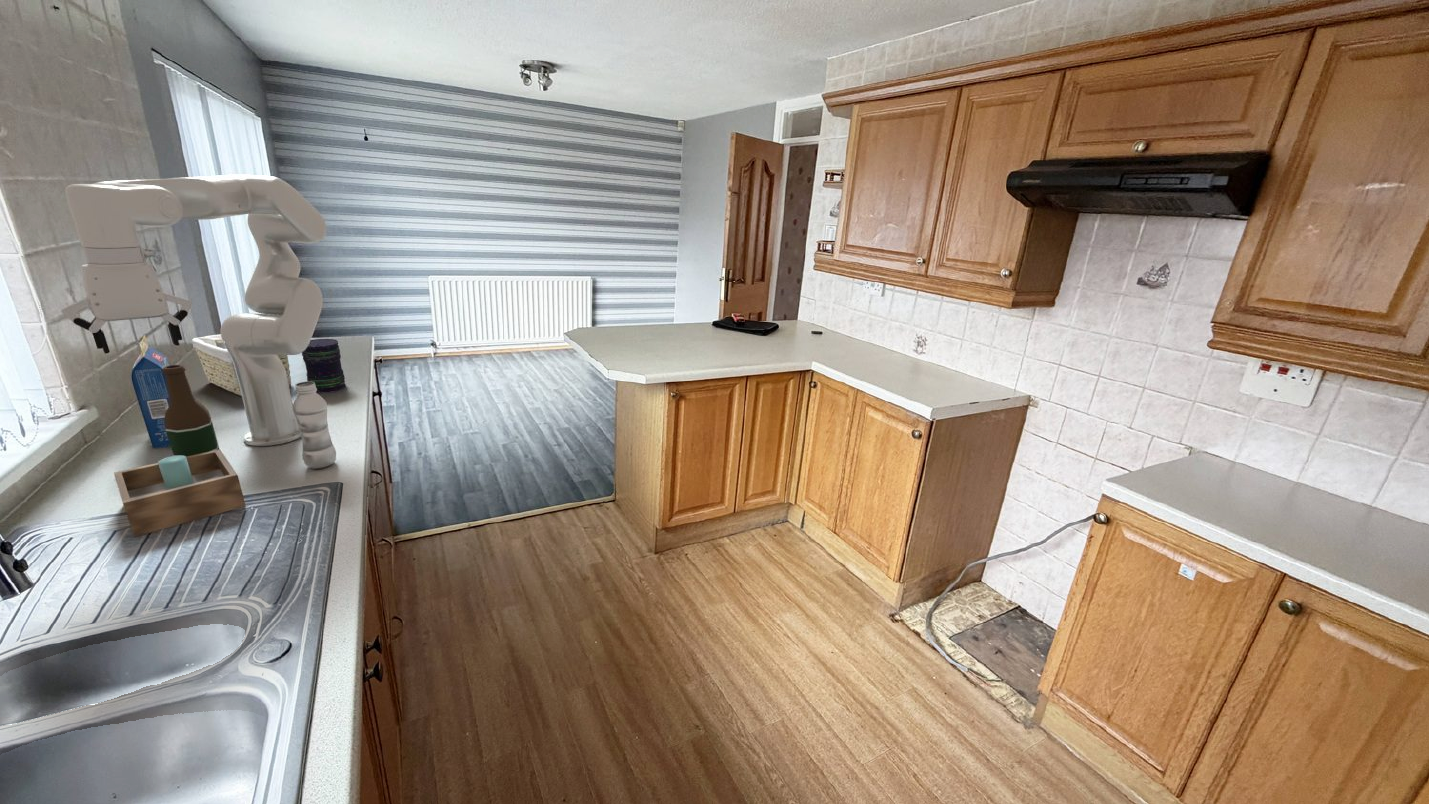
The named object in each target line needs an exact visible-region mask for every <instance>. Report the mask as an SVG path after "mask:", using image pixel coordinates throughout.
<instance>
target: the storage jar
mask: <svg viewBox="0 0 1429 804" xmlns="http://www.w3.org/2000/svg"><path fill="white" fill-rule="evenodd" d="M301 356H302V360H303V363H304V365H305V369H306V381H312V382H315V386H316V388H317V391H316V393H317V394H327V393H328V394H329V393H336V392H339V391H342V390H344V389H345V388H346V387H347V384H346V380H345V379H346V377H345V374H344V370H343V367H342V362H341V359H342V357H341V350H340V346H339V340H337V339H334V338H316V339H311V340H310V343H309V345H308V346H307V348H306V349H305V350H304V351H303V352H302V353H301Z"/></svg>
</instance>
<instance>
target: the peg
mask: <svg viewBox="0 0 1429 804" xmlns="http://www.w3.org/2000/svg"><path fill="white" fill-rule="evenodd" d="M157 463H158V464H159V467H160V470H161V474H162V477H163V480H164V483H165V486H166V490H169V489H173V488H178V487H182V486H186V485H190V484H194V482H193V479H192V476H191V472H190V469H189V465H188V462H187V458H186V456H183V455H177V456H173V455H172V456H171V455H170V456H168V457H164V458H161V459H159V460H158V461H157Z"/></svg>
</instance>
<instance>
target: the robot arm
mask: <svg viewBox="0 0 1429 804" xmlns="http://www.w3.org/2000/svg"><path fill="white" fill-rule="evenodd" d="M64 195H65V197H66V202H67V205H68V208H69V210H70V214H71V216H72V220H73V224H74V226H75V230H76V233H77V236H78V239H79V242H80V245H81V248H82V252H83V255H84V258H85V261H86V264H82V265H81V277H82V283H83V287H84V291H85V294H86V297H84V298H81V299H79V300H77V301H75V302H73V303H70V304H69V305H67V306H65V307H62V308H61V313H62V314H63V315H64V316H65V317H67V319H68V320H70V321H72V323H74V325H76V326H78V327H80V328H82V329H85V330H87V331H89V332H90V333H91V334H92V336H93V337H92V338H93V339H94V342H95V346H96V348H97V349H98V350H99V349H102V350H103V353H104V354H109V353H110V352H111V351H110V348H109V345H108V342H107V339H106V335H105V333H104V330H103V329H101V328H103V326H104V325H105V323H106V322H113V321H115V322H116V321H117V322H118V321H125V320H126V321H128V320H129V321H130V320H140V319H142V320H143V319H151V318H152V319H153V318H160V317H161V318H162V319H164V320H166V321H167V322H168V324H167V328H168V331H169V335H170V338H171V339H170V340H171V342H172V344H173V345H174V346H176V347H177V346H180V342H179V341H183V336H182V332H181V330H180V324H181V323H182V321H184V319H185V318H186V317H188V315H189V311H190V309H191V307H192V304H193V303H192V301H191V300H190V299H187V298H183V297H181V296H178V295H177V296H176V295H175V294H174V295H173V294H170V293H166V292H164V290H163V287H162V285H161V282H160V279H159V278H158V275H157V273H156V270H155V268H154V267H153V265H152V263H151V262H146V261H147V259H148V258H152V257H153V258H154V257H155V256H156V255H155V252H154V249H147V248H144V247H142V245H141V242H140V237H139V234H138V231H137V228H136V227H137V226H141V227H152V228H153V227H154V228H155V227H157V228H160V227H161V228H162V227H168V226H172V225H175V224H177V223H178V222H179V221H180V220H193V221H195V220H197V221H203V220H205V221H206V220H216V219H221V218H228V217H235V216H242V215H247V226H248V229H249V232H251V233H250V234H251V235H252V237H253V239H254V241H255V244H256V247H257V248H258V254H259V257H258V260H257V264H256V265H255V266H256V267H255V268H254V271H253V274H252V276H251V278H250V281H249V283H248V285H247V288H246V291H245V294H244V303H245V305H246V306H247V307H248V308H249V310H251V311H253V312H255V313H251V312H250V313H248V312H247V313H245V312H244V313H237V314H233V315H231V316H228V317H227V318H226V319H225V320H224V321H223V322H222V324H221V326H220V334H221V338H222V340H223V343H222V344H223V345H224V348H226V349H227V350H228V352H229V354H230V356H231V359H232V361H233V364H234V367H235V371H236V375H237V379H238V383H239V387H240V391H241V395H242V396H241V398H242V403H243V407H244V410H245V415H246V418H247V423H248V427H249V430H250V431H249V432H247V433H246V434H244V436H243V440H244V443H245V444H246V445H250V446H252V447H253V446H254V447H267V446H268V447H269V446H277V445H283V444H286V443H289V442H290V443H291V442H292V441H293V442H294V441H295V440H297V439H300V438H302V437H301V433H300V429H299V425H298V422H297V420H296V417H295V415H294V412H293V409H292V408H293V403H294V402H293V398H292V394H291V390H290V385H289V384H288V379H287V374H286V370H285V367H284V365H283V363H282V361H281V360H280V359H279V357H278V356H277V355H287V356H295V355H296V356H297V355H300V354H302V352H303V351H304V350H305V349H306V348H307V346H308V345H309V343H310V340H312V338H313V334H314V332H315V330H316V326H317V324H318V321H319V318H320V315H321V314H322V309H323V304H324V303H323V302H324V300H323V299H324V298H323V293H322V291H321V289H320V287H319V286H318V284H317V283H316V282H315V281H313V280H311V279H308V278H304V277H299V276H300V272H301V270H302V269H301V268H302V267H301V263H300V260H299V259H298V257H297V255H296V254H295V252H294V251H293V250H292V248H291V247H290V245H289V243H298V244H301V243H302V244H317V243H319V242H322V241H323V240H324V239H325V237H326V235H327V231H328V229H327V223H326V221H325V218H324V217H323V216H322V214H321V213H320V211H319V210H317V208H316V207H314V206H313V205H312V204H311V202H310V201H308V200H307V198H305V197H304V196H303V194H301V193H300V192H299V191H298V190H297V189H295V188H294V186H292V185H291V184H289V183H288V182H287V181H285V180H284V179H281V178H279V177H276V176H270V175H269V176H268V175H253V174H252V175H251V174H226V175H224V174H223V175H211V176H208V175H207V176H192V177H191V176H190V177H172V178H171V177H170V178H169V177H168V178H159V179H156V178H155V179H154V178H153V179H131V180H130V179H129V180H111V181H109V180H108V181H97V182H93V183H92V184H91V183H90V184H89V183H73V184H69V185H67V186H66V187H65V188H64ZM168 302H172V303H174V304H178V305H180V306H179V310H178V311H177V312H176V313H174V314H171V313H170V312H169V306H168ZM87 307H89V309H90V311H91V314H92V315H93V316H94V318H93V319H92V320H91V321H89V320H86V319H85V318H82V317H81V316H79V315H78V314H77V312H79V311H82V310H83V309H85V308H87Z"/></svg>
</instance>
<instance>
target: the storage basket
mask: <svg viewBox="0 0 1429 804" xmlns="http://www.w3.org/2000/svg"><path fill="white" fill-rule="evenodd" d="M191 342H192V346H193V348H194V349H195V352H196V355H197V356H198V357H199V361H200V364H201V366H202V370H203V372H204V374H205V376H206V379H207V381H208V382H209V383H211V384H213V385H215V386H217V387H219V388H222V389H224V390H226V391H227V392H230V393H234V394H235V395H238V396H240V397H242V395H241V391H240V387H239V383H238V379H237V375H236V371H235V367H234V364H233V361H232V359H231V356H230V354H229V352H228V350H227V349H226V347H224V348H222V347H219V346H218V345H217V344H224V343H223V340H222V338H221V333H220V334H212V335H206V336H201V337H194V338H192V339H191ZM277 356H278V357H279V359H280V360H281V361H282V363H283V365H284V367H285V370H286V374H287V379H288V384H289V386H291V385H292V382H291V381H292V377H291V370H290V364H289V355H277Z"/></svg>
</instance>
